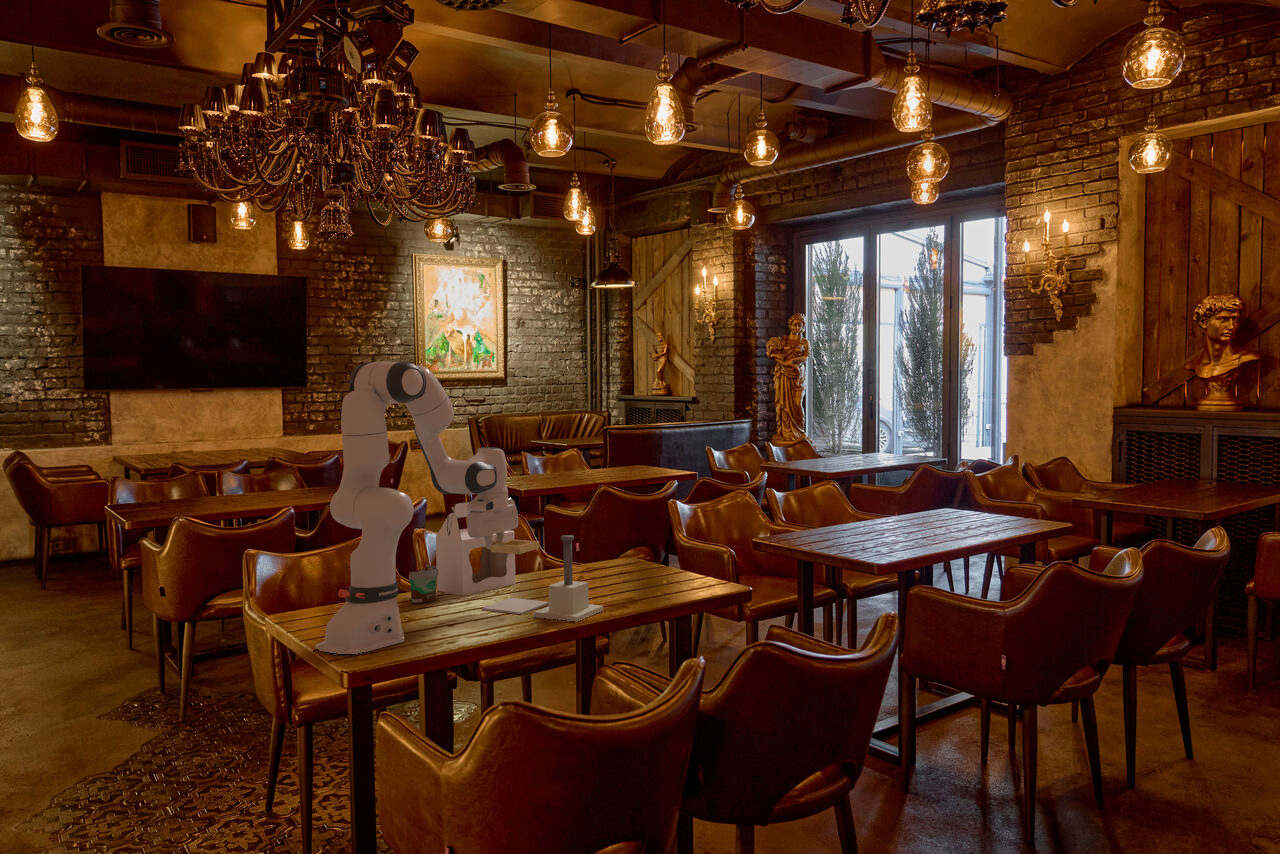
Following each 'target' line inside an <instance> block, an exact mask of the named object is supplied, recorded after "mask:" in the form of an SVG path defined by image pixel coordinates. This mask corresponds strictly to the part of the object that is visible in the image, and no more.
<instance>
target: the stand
mask: <svg viewBox="0 0 1280 854" xmlns="http://www.w3.org/2000/svg"><path fill="white" fill-rule="evenodd" d="M574 540H575V536H574V535H572V534H571V535H570V534H569V535H568V534H567V535H564V534H563V535H560V541H562V544H563V545H562V546H563V549H562V550H563V553H562V554H563V580H561V581H558V582H555V583H553V584H550V585H548V602H549V604H548V606H546V607H544V608H541V609H540V608H539V609H538V610H534V612H533V617H534V618H536V619H537V618H538V619H544V618H546V619H548V620H553V619H556V620H555V621H561V620H567V621H566V622H569V621H576V622H575V623H578V622H577V621H579V622H581V621H583V620H582V619H584V620H586V619H588V618H590V617H589V616H591V617H592V615H593V616H595V615H597V614H596V613H598V614H599V612H600V613H602V612H604V605H598V604H589V602H590V601H589V600H590V599H589V582H588V581H577V580H576V581H574V578H573V576H574V575H573V541H574ZM601 611H602V612H601ZM594 614H595V615H594ZM587 617H588V618H587ZM585 618H586V619H585ZM546 619H545V620H546ZM557 619H558V620H557ZM580 620H581V621H580Z"/></svg>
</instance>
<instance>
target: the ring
mask: <svg viewBox="0 0 1280 854" xmlns="http://www.w3.org/2000/svg"><path fill="white" fill-rule="evenodd" d="M493 543H495V544H493V545H491V552H498V553H511V554H515V555H521V554H524V553H527V552H531V551H535V550H538V549H540V548H541V547H540V541H539V540H525V539H524V540H523V539H515V538H514V539H511V540H508V541H504V542H502V541H493ZM486 548H487V543H486Z"/></svg>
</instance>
